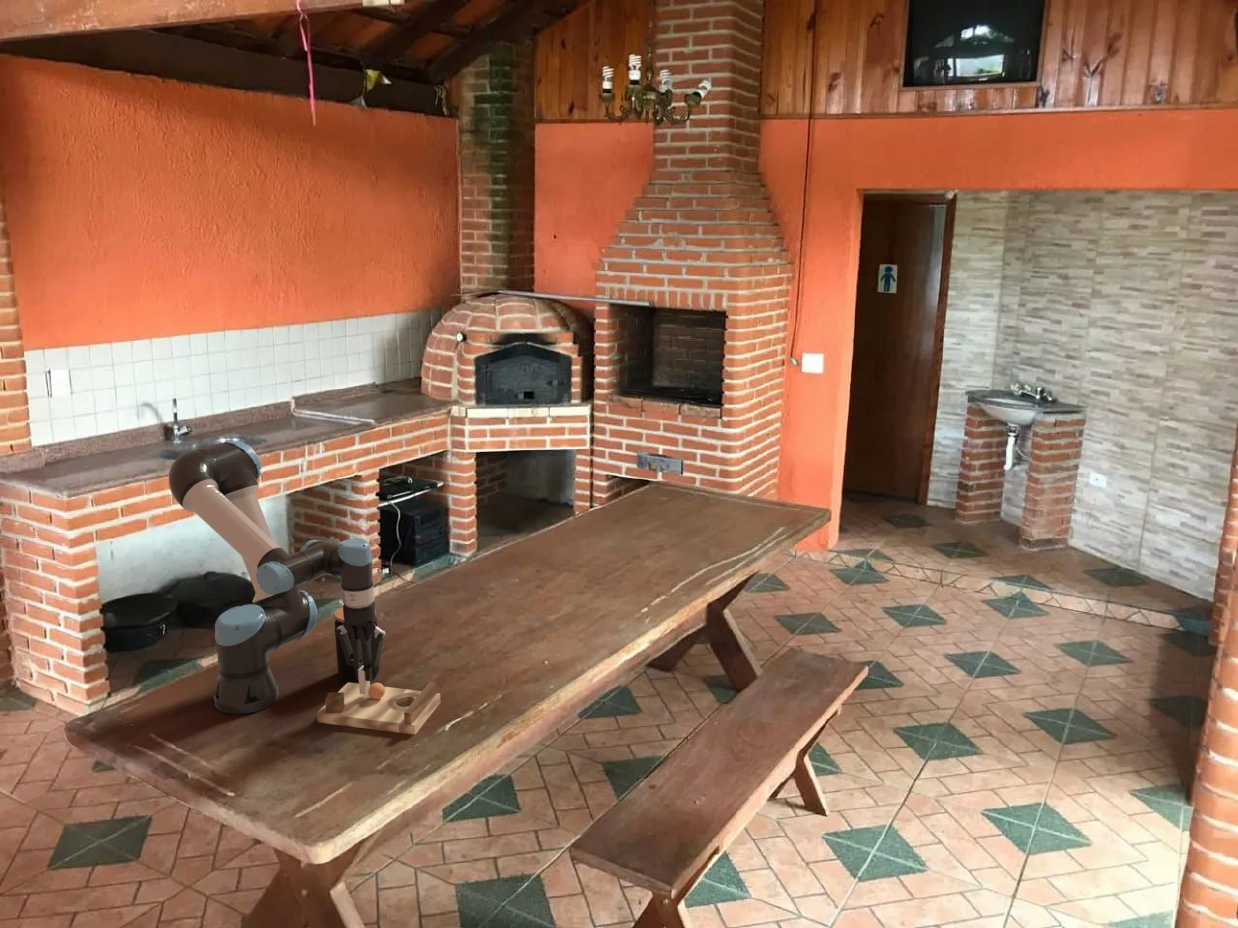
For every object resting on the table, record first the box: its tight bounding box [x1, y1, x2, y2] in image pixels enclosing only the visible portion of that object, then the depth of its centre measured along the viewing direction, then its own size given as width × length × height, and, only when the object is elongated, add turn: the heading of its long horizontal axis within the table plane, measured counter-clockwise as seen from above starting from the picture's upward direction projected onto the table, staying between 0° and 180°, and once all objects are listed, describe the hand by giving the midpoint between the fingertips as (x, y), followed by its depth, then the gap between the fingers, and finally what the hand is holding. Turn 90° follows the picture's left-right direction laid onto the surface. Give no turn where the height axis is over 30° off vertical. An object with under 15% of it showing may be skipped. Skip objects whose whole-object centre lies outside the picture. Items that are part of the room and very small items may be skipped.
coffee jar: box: [333, 606, 380, 684], centre depth 265 cm, size 11×11×18 cm
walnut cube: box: [324, 691, 344, 713], centre depth 244 cm, size 4×4×4 cm
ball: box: [368, 682, 385, 699], centre depth 249 cm, size 4×4×4 cm
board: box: [316, 680, 442, 736], centre depth 248 cm, size 25×16×6 cm, turn 78°
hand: (365, 691), depth 250 cm, fingers closed
